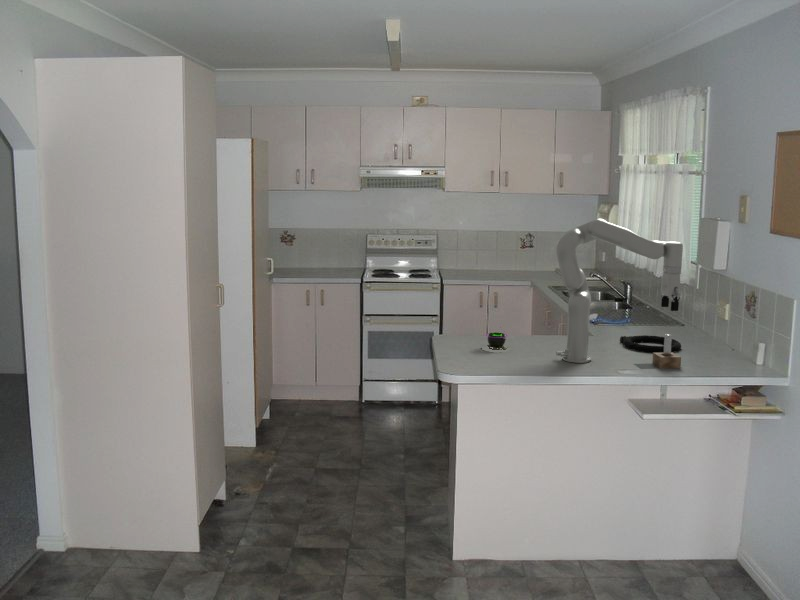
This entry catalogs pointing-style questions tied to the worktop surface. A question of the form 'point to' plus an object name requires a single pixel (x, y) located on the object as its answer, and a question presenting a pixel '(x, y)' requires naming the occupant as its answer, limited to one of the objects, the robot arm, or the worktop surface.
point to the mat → (648, 366)
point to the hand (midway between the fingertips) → (669, 308)
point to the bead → (666, 360)
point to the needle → (667, 345)
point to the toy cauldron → (496, 340)
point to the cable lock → (631, 344)
